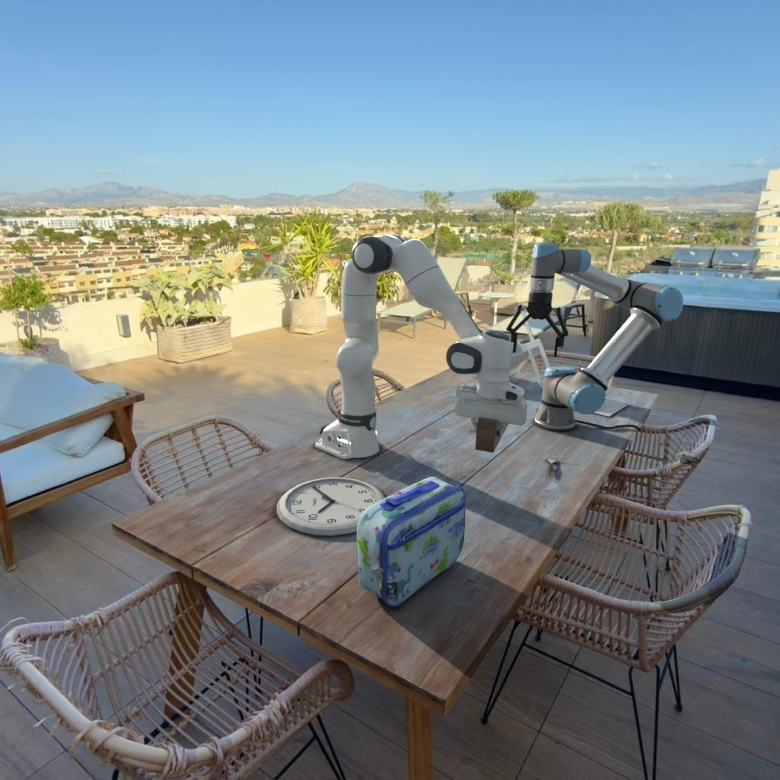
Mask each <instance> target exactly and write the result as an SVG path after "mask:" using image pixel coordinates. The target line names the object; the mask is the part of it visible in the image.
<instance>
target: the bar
mask: <svg viewBox="0 0 780 780" xmlns="http://www.w3.org/2000/svg"><path fill="white" fill-rule="evenodd" d="M476 422H477V432H475V446H474V449H475V451H481V452H486V453H492V454H494V452H495V451H496V449H497V447H498V445H499V443H500V441H501V439H502V437H500V436H497V431H498V429H501V428H502V427H503V426H502V422H498V420H494V419H488V418H481V417H479V419H477V420H476ZM508 427H509V424H508V425H507V427H506V428H505V429H504V431H503V434H504V433H505V432H506V429H507V428H508Z"/></svg>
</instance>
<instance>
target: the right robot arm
mask: <svg viewBox="0 0 780 780" xmlns="http://www.w3.org/2000/svg"><path fill="white" fill-rule="evenodd" d="M591 263H592V256H591V253H590V251H589V250H588V249H582V248H564V247H559V244H558V243H557V242H541V241H540V242H536V243H535V244H534V246H533V249H532V255H531V269H530V270H531V272H530V278H529V279H530V280H529V290H530V291H528V301H527V305H524V304H523V303H520V304H518V305H517V309H516V312H515V314H514V315H513V317H512V319H511V320H510V322H509V323H508V325H507V327H506V330H505V331H506V332H509V333H510V334H511V335H510V339H511V342H512V343H514V344H513V353H515V352H516V348H517V338H518V337H519V335H518V334H519V332H517V331H518V330H519V329H520V328H521V327H523V325H525V322H526V321H527V320H528V321H529V320H530V319H532V320H540V321H544V320H545V321H546V322H547V323H548V325H549V326H550V327H551V329H552V330H553V331H554V333H555V334H556V336H555V343H554V352H553V358H556V357H557V356H558V348H561V347H562V345H563V338H564V337H568V336H569V330H568V327H567V325H566V322H565V320H564V318H563V315H562V307H561V306H557V307H553V305H552V304H553V303H552V302H553V295H554V293H553V292H552V291H554V285H555V277H556V274H557V275H559V276H561V277H563V278H566V279H567V280H570V281H572V282H574V283H577V284H579V285H580V286H583V287H585V288H587V289H590V290H592V291H594V292H596V293H598V294H601V295H603V296H605V297H607V298H608V300H609V301H610V302H611V303H614V304H615V305H617V306H620V307H621V308H623V309H625V310H626V311H628V312H630V316H629V317H628V318H627V319H626V320H625V322H624V323H623V324H622V325H621V327H620V328H619V329H618V330H617V331H616V333H615V334H614V335H613V336H612V338H611V339H610V340H609V341H608V342H607V343H606V345H605V346H604V347H602V350H600V352H598V354H597V355H596V356H595V357H594V359H593V360H592V362H591V363H590V364H589V365H588V366H587V367H582V368H580V369H579V370H578V369H577V368H575V367H572V366H558V365H557V366H550V367H549V368H547V369H545V370H544V373H543V381H542V382H543V389H542V394H541V402H540V405H539V407H538V408H535V409H536V410H535V411H536V413H535V416H534V424H535V425H536V426H537V427H539V428H542V429H544V430H549V431H556V432H567V431H572V430H574V429H575V428H576V423H577V424H582V425H585V426H591V427H596V428H599V429H605V430H614V429H618V428H619V429H620V428H634V429H636V430H637V431H642V429H641V427H639V426H638V425H635V424H631V423H630V424H617V425H614V426H606V425H602V424H597V423H592V422H589V421H584V420H579V419H576V418H575V417H576V416H575V413H579V414H581V415H591V414H595V413H594V412H596V411H597V410H599V409H600V408H601V407H602V406H603V404H604V402H605V399H606V398H607V394H606V391H607V390H608V389H609V385H608V384H609V381H610V380H611V379H612V378H613V377H614V375H615V374H616V373H617V372H618V370H619V369H621V367H622V366H623V365H624V363H625V362H626V361H627V360H628V359H629V358H630V357H631V355H632V354H633V353H634V351H635V350H636V349H637V348H638V347H639V346H640V345H641V344H642V342H643V341H644V340H645V338H646V337H647V336H648V335H649V334H650V333H651V331H653V330H659V329H660V328H661V327H662V325H664V323H665V322H672V321H675V320H676V319H678V317H679V316H680V315H681V313H682V311H683V308H684V297H683V293H682V292H681V290H679V288H677V287H674V286H670V285H668V284H657V283H650V282H646V281H645V282H644V281H637V280H632V279H629V278H627V277H625V276H624V277H623V276H621V277H619V276H618V277H617V276H616V275H613V274H611V273H610V272H607V271H605V270H603V269H600V268H598V267H597V266H594V265H592V264H591ZM525 310H526V312H527V314H526V317H525V318H524V319H523V318H522V320H521V321H520V322H519V323H518V324H517V325H516V326H515V327H514V325H515V323H516V321H517V320H518V318H519V317H520V315H521V312H522V311H525ZM552 312H553V313H554V314H555V315H556V317H557V320H558V322H559V325H560V327H561V330H562V331H561V330H560V328H559V326H558V325H557V324H556V322H555V321H554V320H553V318H552V317H551V315H550V314H551V313H552ZM513 327H514V328H513ZM574 412H575V413H574Z"/></svg>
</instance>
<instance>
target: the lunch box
mask: <svg viewBox="0 0 780 780" xmlns="http://www.w3.org/2000/svg"><path fill="white" fill-rule="evenodd" d="M465 528H466V494H465V490H464V489H463V487H461V486H458V485H456V486H454V485H451V484H450V483H448V482H446V481H444V480H442V479H440V478H438V477H436V476H430V477H426V478H424V479H421V480H420V481H417V482H415V483H413V484H411V485H409V486H407V487H405V488H402V489H401V490H399V491H396V492H395V493H393V494H390V495H389V496H387V497H385V499H383V500H381V501H379V502H377V503H375V504H373V505H371V506H369V507H368V508H367V509H366V510H365V511H364V512H363V513H362V515H361V517H360V519H359V522H358V526H357V532H356V549H357V550H356V551H357V552H356V553H357V577H358V583H359V585H360V587H361V588H362V589H364V590H366V591H368V592H370V593H372V594H374V595H375V596H377V598H379V599H381V600H382V602H383V603H384V604H385V605H387V606H390V607H393V608H394V607H398V606H400V605H402V604H403V603H404V602H405V601H406V600H408V599H409V598H410V597H411V596H412V595H414V594H416V592H418V591H419V590H420V589H422V588H423V587H424V586H426V585H427V584H428V583H430V582H431V581H432V579H434V578H435V577H436V576H438V575H439V574H440V573H442V572H444V571H446V570H447V569H449V568H450V567H451V566H452V565H454V563H456V561H457V560H458V558H459V557H460V555H461V553H462V550H463V547H464V542H465V530H466V529H465Z"/></svg>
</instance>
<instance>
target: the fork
mask: <svg viewBox="0 0 780 780" xmlns="http://www.w3.org/2000/svg"><path fill="white" fill-rule="evenodd" d="M557 458H558V452H556V454H555V451H554V452H553V454H551V453H549V454H548V460H547V461H548V462H549V463H550V465H549V467H548V472H549V473H548V474H549V477H551V474H552V472H553V469H554V465H553V464H554V463H556V462H557Z"/></svg>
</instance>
